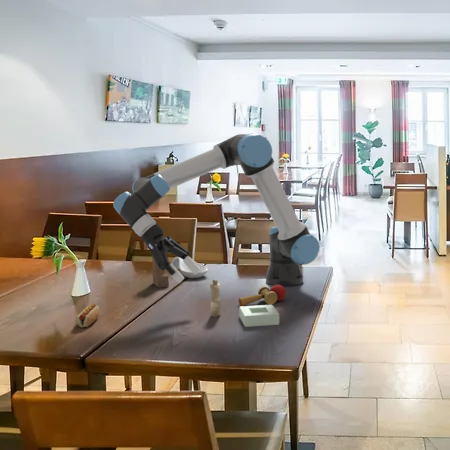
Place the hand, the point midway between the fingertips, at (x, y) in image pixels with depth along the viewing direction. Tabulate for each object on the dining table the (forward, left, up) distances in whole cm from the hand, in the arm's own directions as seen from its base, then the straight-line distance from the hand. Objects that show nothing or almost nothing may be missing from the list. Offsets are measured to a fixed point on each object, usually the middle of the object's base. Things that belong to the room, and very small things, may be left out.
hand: (190, 276), depth 208 cm
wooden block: (+9, -42, -13) cm, 45 cm away
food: (+34, +4, -13) cm, 37 cm away
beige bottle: (-8, +4, -13) cm, 16 cm away
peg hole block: (-21, +10, -13) cm, 27 cm away
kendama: (-26, -8, -13) cm, 30 cm away
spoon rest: (-3, -60, -13) cm, 61 cm away
